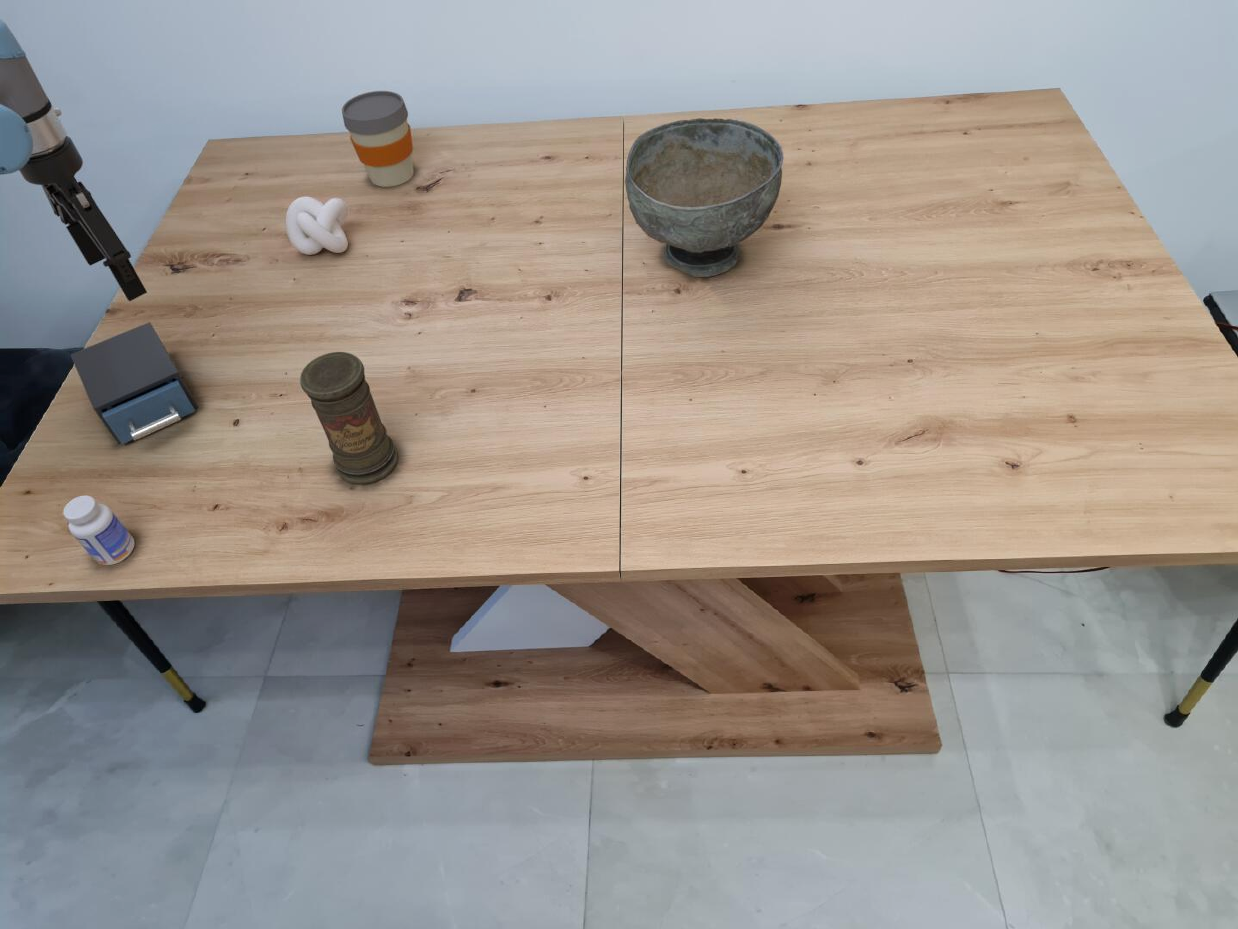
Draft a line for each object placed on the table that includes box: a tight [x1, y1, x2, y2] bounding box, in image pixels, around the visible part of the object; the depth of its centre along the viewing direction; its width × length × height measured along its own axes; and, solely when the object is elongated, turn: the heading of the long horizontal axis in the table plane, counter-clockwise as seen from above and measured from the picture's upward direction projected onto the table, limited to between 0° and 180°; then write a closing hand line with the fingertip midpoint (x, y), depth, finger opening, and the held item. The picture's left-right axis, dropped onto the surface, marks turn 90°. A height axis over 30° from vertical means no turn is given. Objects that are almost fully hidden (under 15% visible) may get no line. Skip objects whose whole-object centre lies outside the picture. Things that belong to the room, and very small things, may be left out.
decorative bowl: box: [624, 117, 785, 278], centre depth 153 cm, size 26×26×20 cm
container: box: [299, 351, 399, 486], centre depth 125 cm, size 9×9×18 cm
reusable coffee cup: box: [341, 90, 414, 188], centre depth 181 cm, size 13×13×15 cm
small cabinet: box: [70, 321, 199, 445], centre depth 142 cm, size 16×13×8 cm
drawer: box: [102, 379, 196, 445], centre depth 139 cm, size 19×11×6 cm, turn 35°
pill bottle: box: [62, 495, 135, 566], centre depth 121 cm, size 5×5×10 cm
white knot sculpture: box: [285, 196, 349, 256], centre depth 167 cm, size 11×12×9 cm
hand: (117, 277), depth 134 cm, fingers open, 13 cm apart
